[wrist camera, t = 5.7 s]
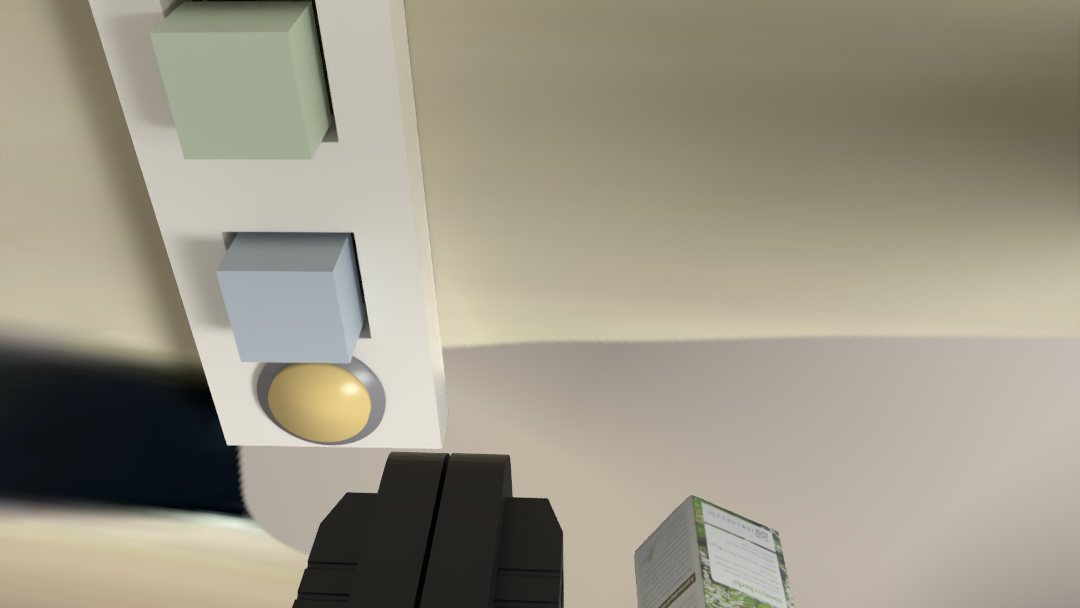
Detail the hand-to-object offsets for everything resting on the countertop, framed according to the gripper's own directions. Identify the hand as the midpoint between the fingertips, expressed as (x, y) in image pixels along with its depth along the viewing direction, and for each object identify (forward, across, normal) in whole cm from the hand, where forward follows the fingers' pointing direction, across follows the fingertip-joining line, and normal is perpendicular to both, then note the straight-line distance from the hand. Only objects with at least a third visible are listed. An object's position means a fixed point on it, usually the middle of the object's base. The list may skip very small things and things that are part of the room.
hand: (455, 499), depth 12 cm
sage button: (+22, +10, +3) cm, 25 cm away
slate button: (+23, +10, +12) cm, 27 cm away
